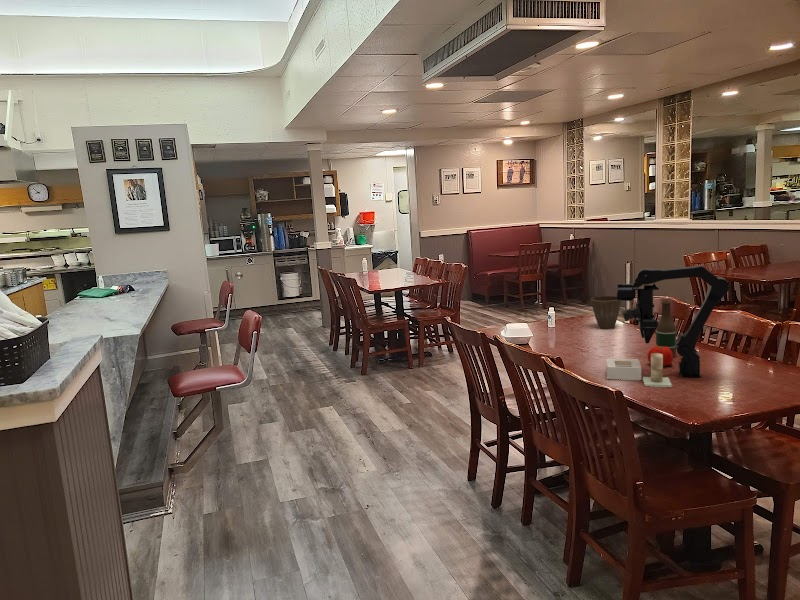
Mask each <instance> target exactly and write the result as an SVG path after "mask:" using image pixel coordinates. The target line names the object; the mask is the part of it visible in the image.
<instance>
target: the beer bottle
mask: <svg viewBox="0 0 800 600" xmlns="http://www.w3.org/2000/svg"><path fill="white" fill-rule="evenodd" d="M671 304H672V301H670V300H662V301H661V315H660V319H659V321H658V327H657V329H656V330H655V346H659V347H660V348H661V346H662V347H664V346H666V347H668V348H670V350H671V351H672V354H673V358H674V356H675V357H676V355H677V350H676V343H675V340H677V327H676V324H675V322H674V321H673V319H672V312H671V311H672V309H671Z"/></svg>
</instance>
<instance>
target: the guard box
mask: <svg viewBox="0 0 800 600" xmlns="http://www.w3.org/2000/svg"><path fill="white" fill-rule="evenodd" d="M605 372H606V377H607V379H617V380H616V381H639V380H641V381H642V366H641V363H640V360H639V359H638V358H605ZM618 379H619V380H618ZM620 379H621V380H620Z"/></svg>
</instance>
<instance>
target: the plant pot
mask: <svg viewBox="0 0 800 600" xmlns="http://www.w3.org/2000/svg"><path fill="white" fill-rule="evenodd" d="M590 300H591V301H590V302H591V305H592V309H593V310H592V311H593V313H594V317H595V321H596V323H597V325H598V328H599V329H600V330H611V329H614V328H615V326H616V324H617V320H618V318H619V314H620V308H621V302H622V301H617V296H616V295H615V296H613V295H605V296H604V295H602V296H595V297H591V298H590Z"/></svg>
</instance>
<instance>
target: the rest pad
mask: <svg viewBox="0 0 800 600" xmlns="http://www.w3.org/2000/svg"><path fill="white" fill-rule="evenodd" d="M641 381H642V382H644V383H643V386H644V385H645V386H650V387H649V388H666V387H672V388H673V384H672V382H671V380H670V377H664V376H663V381H662V382H652V381H651V376H641ZM645 386H644V387H645ZM653 386H654V387H653Z"/></svg>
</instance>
